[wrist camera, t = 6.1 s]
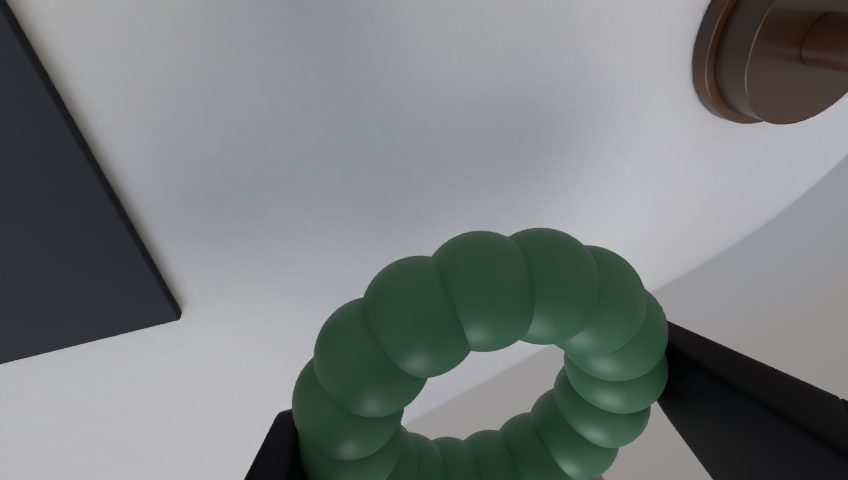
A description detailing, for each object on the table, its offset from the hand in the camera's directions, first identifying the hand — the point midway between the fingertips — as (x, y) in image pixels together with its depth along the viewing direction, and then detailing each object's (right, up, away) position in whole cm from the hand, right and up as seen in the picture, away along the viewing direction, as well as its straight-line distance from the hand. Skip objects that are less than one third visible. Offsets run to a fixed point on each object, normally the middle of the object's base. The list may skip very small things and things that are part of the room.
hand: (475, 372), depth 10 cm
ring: (0, 0, 0) cm, 0 cm away
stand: (+14, +12, +10) cm, 21 cm away
